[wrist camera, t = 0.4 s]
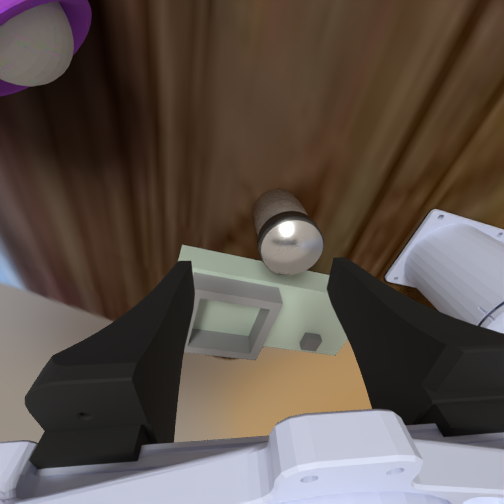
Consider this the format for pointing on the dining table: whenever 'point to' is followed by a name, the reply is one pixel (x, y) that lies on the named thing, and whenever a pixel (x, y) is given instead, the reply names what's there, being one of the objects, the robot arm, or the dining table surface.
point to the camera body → (257, 308)
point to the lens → (286, 233)
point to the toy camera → (39, 40)
